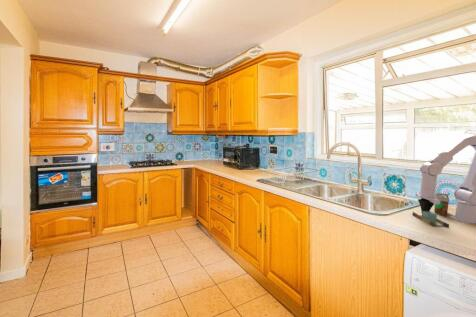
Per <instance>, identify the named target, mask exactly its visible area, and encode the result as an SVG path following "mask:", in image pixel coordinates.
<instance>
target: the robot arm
mask: <svg viewBox="0 0 476 317" xmlns="http://www.w3.org/2000/svg"><path fill="white" fill-rule="evenodd" d="M469 146H471V147H472V148H473V149H474V150H475V152H474V156H473V158H472V161H471V164H470V166H469V168H468V172H467V175H466V178H465V180H464V182H461V183H460V184H459V183H458V184H459V185H458V186H457V188H456V189H455V190H454V192H453V196H454V198H455V199H456V201H455V202H456V208H455V213H454V216H451V215H450V216H449V217H450V218H451V219H453V220H456V221H458V222H460V223H463V224H476V129H475V130H473V129H467V130H466V131H464V133H461V135H460V137H459V139H457V140H456V141H455V142H454V143H453V144H452V145H451V146H450V147H449V148H447V150H446V151H445V150H444V151H443V150H442V151H439V152H437V153H436V156H434V157H433V158H432V159H430V160H429V161H428V162H424V163H422V165H421V167H419V171H420V172H421V177H422V178H421V182H420V190H419V191H420V192H417V191H416V192H415V194H414V195H415V196H414V197H416V198H417V197H418V198H417V201H418V203H419V206H420V209H421V213H422V212H423V211H431V209H432V208H433V206H435V204H440V200H438V199H437V198H435V194H436V189H437V181H438V175H440V174H442V171H443V169H444V167H446V166H447V165H448V164H449V163H451V162H452V161H453V159H454V158H453V157H455V155H457V154H458V153H459V152H460V151H463V150H464V149H465V148H467V147H469Z"/></svg>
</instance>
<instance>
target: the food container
mask: <svg viewBox="0 0 476 317" xmlns="http://www.w3.org/2000/svg"><path fill="white" fill-rule="evenodd" d="M435 198H437V199H438V200H440V204H434V210H433V212H434V213H436V214H437V215H440V216H444V217H447V216H448V212H449V211H448V210H449V205H450V204H449V203H450V196H449V193H439V192H435Z"/></svg>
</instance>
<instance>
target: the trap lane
mask: <svg viewBox="0 0 476 317" xmlns="http://www.w3.org/2000/svg"><path fill="white" fill-rule="evenodd" d="M411 215H412V216H414V217H416V218H417V219H419V220H421V221H423V222H424V223H425V224H428V225H430V226H432V227H434V228H445V229H446V228H447V229H448V228H450V224H449V223H447V222H446V221H443V220H441V219H439V218H437V219H436V222H431V221H430V220H428V219H426V218H424V217H422V214H421V215H420V214H418V213H416V212H414V211H412V214H411Z"/></svg>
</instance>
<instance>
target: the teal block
mask: <svg viewBox="0 0 476 317" xmlns="http://www.w3.org/2000/svg"><path fill="white" fill-rule="evenodd" d="M421 215H422V217H424V218H426V219H428V220H430V221H431V222H436V219H438V217H437V216H438V214H436V213H435V212H434V211H432V210H430V211H423V212H421Z"/></svg>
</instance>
